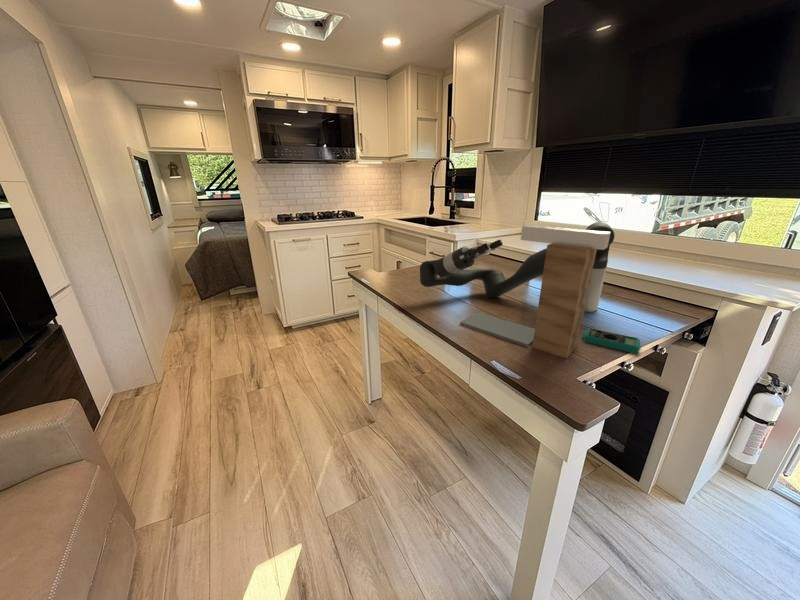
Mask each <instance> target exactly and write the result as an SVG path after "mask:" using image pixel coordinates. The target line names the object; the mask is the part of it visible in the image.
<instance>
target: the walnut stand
mask: <svg viewBox="0 0 800 600" xmlns="http://www.w3.org/2000/svg"><path fill="white" fill-rule="evenodd" d="M546 248H547V251H546V257H545V264H544V271H543V275H542V278H541V279H542V281H541V285H540V286H541V287H540V292H539V299H538V306H537V313H536V320H535V326H534V327H535V328H534V329H535V332H534V339H533V343H532V347H531V348H533V349H536V350H539V351H542V352H545V353H549V354H551V355H554V356H557V357H559V358H560V357H561V358H563V359H567V358H569V356H570V355H571V354H572V352H574V351H575V349H576V348H578V345H579V340H580V339H579V338H580V334H581V329H582V326H583V325H582V324H583V319H584V315H585V311H584V310H585V305H586V301H587V296H588V291H589V286H590V281H591V276H592V271H593V266H594V261H595V256H596V251H597V249H593V248H584V247H576V246H568V245H559V244H551V243H548V244H546Z"/></svg>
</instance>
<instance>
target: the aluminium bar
mask: <svg viewBox="0 0 800 600" xmlns="http://www.w3.org/2000/svg"><path fill="white" fill-rule="evenodd" d="M520 233H521V235H520V241H526V242H527V241H528V242H535V243H543V244H559V245H568V246H576V247H584V248H593V249H601V250H604V249H605V248H607V247H608V242H609V238H610V233H611V232H605V231H593V230H586V229H581V228H580V229H579V228H570V227H569V228H568V227H557V226H545V225H535V224H533V225H532V224H526V225H522V226H521V232H520Z"/></svg>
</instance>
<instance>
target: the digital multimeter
mask: <svg viewBox="0 0 800 600" xmlns="http://www.w3.org/2000/svg"><path fill="white" fill-rule="evenodd" d="M583 341H584V343H588V344H593V345H598V346H601V347H607V348H610V349H615V350H619V351H622V350H623V352H626V351H627V352H626V353H630V354H634V355H637V354H638V353H639V351H640V347H641V341H640V339H639V338H638V337H633V336H629V335H625V334H624V335H623V334H620V333H619V334H618V333H614V332H609V331H605V330H599V329H596V328H592V327H590V328H587V329H586V330H585V331H584V333H583Z"/></svg>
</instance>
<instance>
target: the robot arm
mask: <svg viewBox="0 0 800 600" xmlns="http://www.w3.org/2000/svg"><path fill="white" fill-rule="evenodd" d="M585 230H593V231H605V232H611V233H610V238H609V242H608V247H607V248H605V249H604V250H601V249H597V251H596V256H595V261H594V266H593V271H592V276H591V281H590V286H589V291H588V296H587V301H586V305H585V310H584V312H587V313H593V312H596V311H598V307H599V304H600V299H601V295H602V291H603V286H604V280H605V276H606V271H607V266H608V263H609V261H608V260H609V251H610V246H611V244H612V243H613V242H614V240H615V232H614V230H613V228H612V227H611V226H610V225H609V224H607V223H606V222H603V221H600V222H599V221H598V222H594V223H591V224H590V225H588V226H587V227H586V228H585ZM502 246H503V241H502V239H497V240H495V241H493V242H489V243H488V242H486V243H483V244H481V245H479V246H474V247H470V248H469V247H468V246H462V247H460V248H458V249H456V250H453V251H452V252H449V253H448V254H447V255H446V256H443V257H440V258H439V259H434V260H425V261H422V263H421V264H420V266H419V281H420V284H421V286H424V287H425V288H431V287H436V286H437V287H438V286H454V287H455V286H456V287H461V286H464V285H467V284H468V283H470V282H473V281H476V280H478V281H482V282H483V287H484V291H485V294H486V296H487V297H489V298H497V297H500V296H503V295H505V294H507V293H509V292H511V291H512V290H514V289H515V288H518V287H519V286H522V285H523V284H526V283H527V282H529V281H532V280H534V279H537V278H539V277H541V276H542V277H543V271H544V264H545V257H546V251H547V247H546V248H544V249H542V250H539V251H537V252H534V253H533V254H531V255H529V256H528V257H527V258H526V259H525V260H524V262H522V264H521V266H519V268H518V270H517V271H516V272H515V273H513V274H512V275H511V276H510V277H508V278H505V276H504V273H503V272H502V270H499V269H495V268H494V269H492V268H486V269H467V268H470V267H472V266H473V265H474V264H475V259H479V258H481V257H482V256H485V255H488V253H490V252H492V251H495V250H496V249H497V248H500V247H502Z"/></svg>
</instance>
